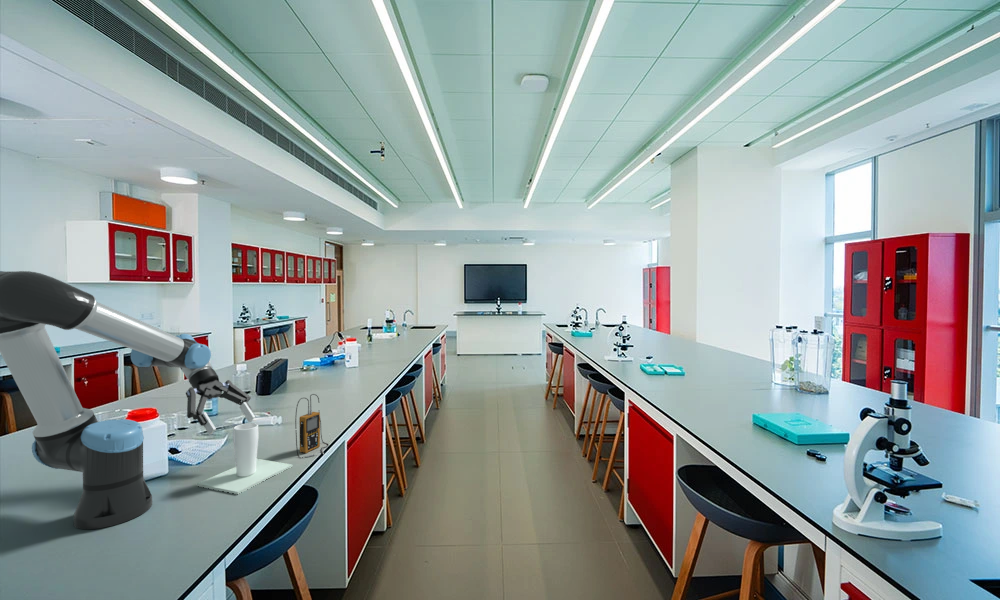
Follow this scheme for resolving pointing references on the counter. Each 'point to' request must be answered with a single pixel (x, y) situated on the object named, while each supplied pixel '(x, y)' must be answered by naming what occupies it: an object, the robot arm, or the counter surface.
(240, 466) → the white cup
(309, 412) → the multimeter
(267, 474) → the mat
